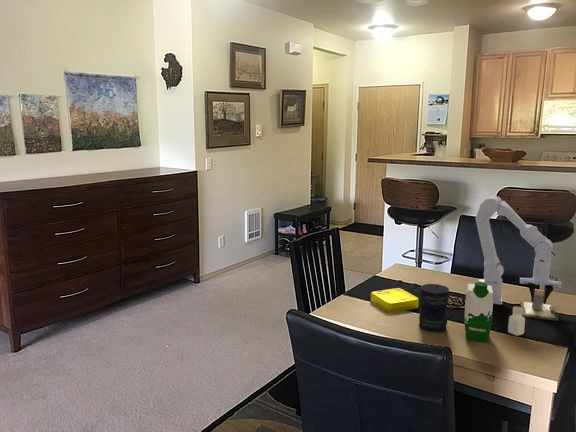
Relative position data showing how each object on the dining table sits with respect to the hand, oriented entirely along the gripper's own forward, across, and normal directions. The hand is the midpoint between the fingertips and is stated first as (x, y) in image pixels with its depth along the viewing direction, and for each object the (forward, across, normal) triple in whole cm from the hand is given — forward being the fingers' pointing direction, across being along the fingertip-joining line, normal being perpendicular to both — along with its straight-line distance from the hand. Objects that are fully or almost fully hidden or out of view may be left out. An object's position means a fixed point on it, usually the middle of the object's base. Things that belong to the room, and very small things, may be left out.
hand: (538, 302), depth 190 cm
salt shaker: (+3, -10, -28) cm, 30 cm away
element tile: (+4, -55, -15) cm, 57 cm away
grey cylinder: (+2, -1, -2) cm, 3 cm away
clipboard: (+3, 0, -2) cm, 4 cm away
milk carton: (+3, -23, -36) cm, 43 cm away
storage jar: (+3, -38, -33) cm, 50 cm away
